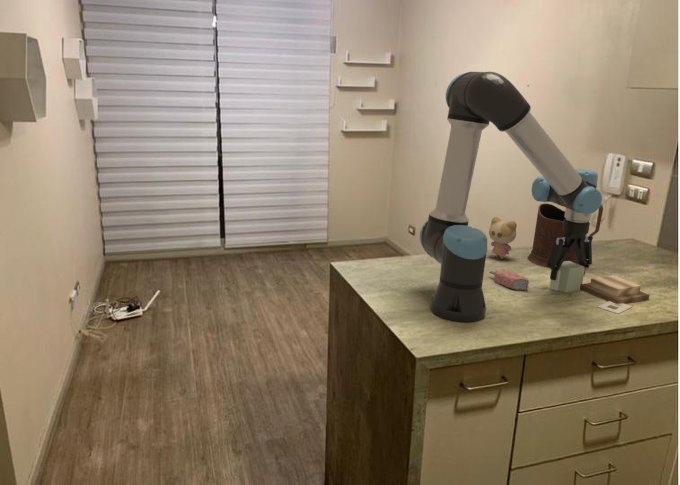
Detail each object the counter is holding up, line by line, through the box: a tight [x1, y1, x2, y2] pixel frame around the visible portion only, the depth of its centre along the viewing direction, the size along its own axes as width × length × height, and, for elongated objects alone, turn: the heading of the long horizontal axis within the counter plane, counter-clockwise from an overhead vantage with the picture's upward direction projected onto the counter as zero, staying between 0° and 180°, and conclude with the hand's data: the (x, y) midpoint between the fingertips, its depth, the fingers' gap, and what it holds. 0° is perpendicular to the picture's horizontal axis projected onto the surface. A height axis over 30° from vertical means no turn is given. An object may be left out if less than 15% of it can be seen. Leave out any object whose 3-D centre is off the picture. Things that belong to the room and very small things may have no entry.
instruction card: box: [597, 301, 633, 315], centre depth 160 cm, size 9×6×1 cm, turn 129°
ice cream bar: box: [489, 269, 530, 291], centre depth 174 cm, size 6×4×15 cm
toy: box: [488, 216, 518, 260], centre depth 199 cm, size 10×8×15 cm
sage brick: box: [558, 261, 584, 293], centre depth 173 cm, size 6×6×8 cm
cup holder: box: [526, 202, 604, 269], centre depth 195 cm, size 18×24×25 cm
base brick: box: [580, 274, 650, 304], centre depth 170 cm, size 14×14×4 cm
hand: (565, 287), depth 174 cm, fingers open, 10 cm apart
